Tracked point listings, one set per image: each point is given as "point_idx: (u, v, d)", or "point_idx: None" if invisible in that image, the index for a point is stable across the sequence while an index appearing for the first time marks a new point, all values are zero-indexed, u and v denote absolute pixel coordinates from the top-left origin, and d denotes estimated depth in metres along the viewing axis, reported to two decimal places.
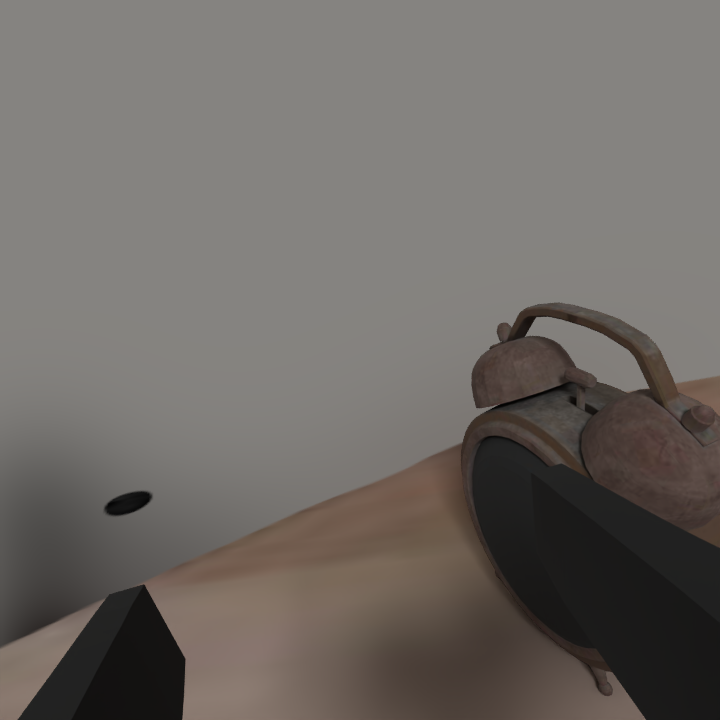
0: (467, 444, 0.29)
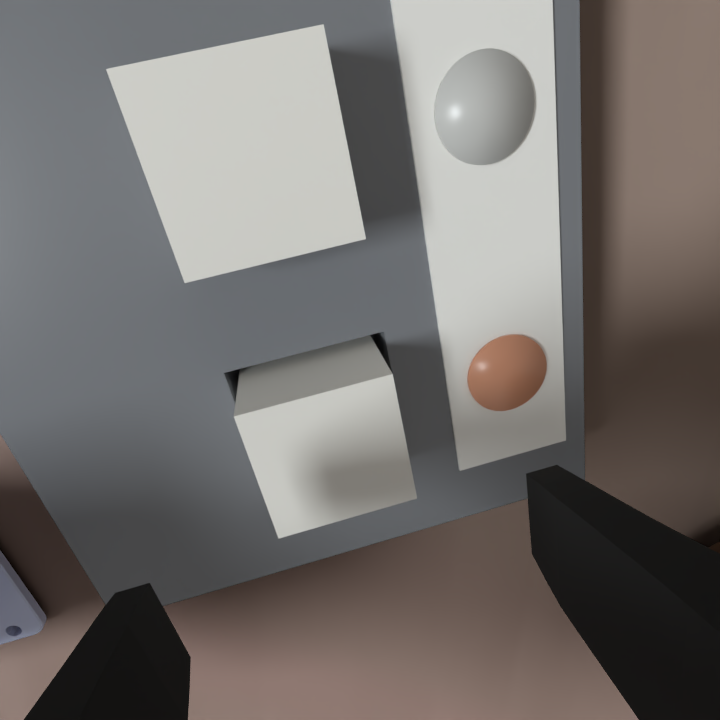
0: None
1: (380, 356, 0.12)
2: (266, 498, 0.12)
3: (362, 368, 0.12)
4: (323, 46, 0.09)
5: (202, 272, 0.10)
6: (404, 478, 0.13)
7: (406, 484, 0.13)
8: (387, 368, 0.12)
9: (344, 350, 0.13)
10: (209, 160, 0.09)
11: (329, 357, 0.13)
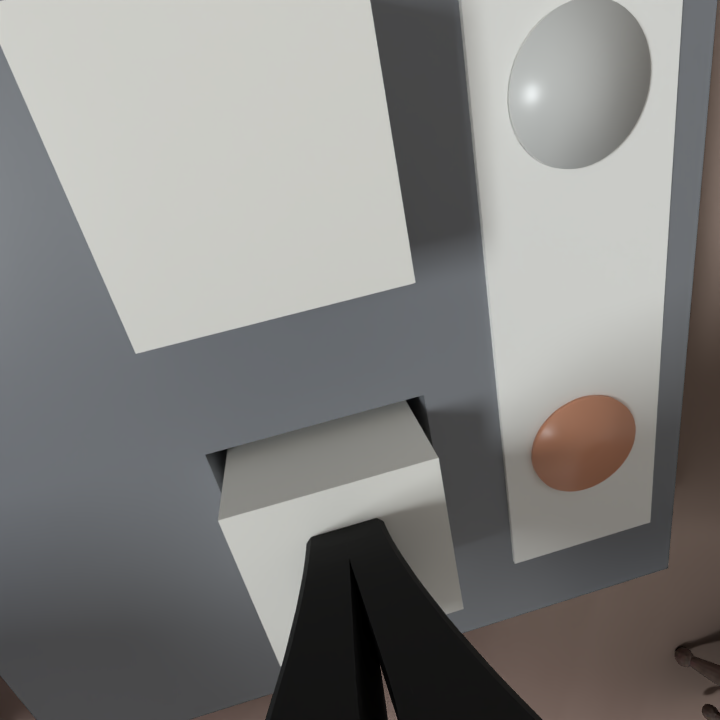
0: None
1: (416, 424, 0.09)
2: (264, 619, 0.09)
3: (394, 444, 0.09)
4: None
5: (163, 337, 0.06)
6: (448, 586, 0.09)
7: (450, 593, 0.10)
8: (429, 446, 0.09)
9: (366, 411, 0.10)
10: (170, 162, 0.05)
11: (347, 422, 0.10)
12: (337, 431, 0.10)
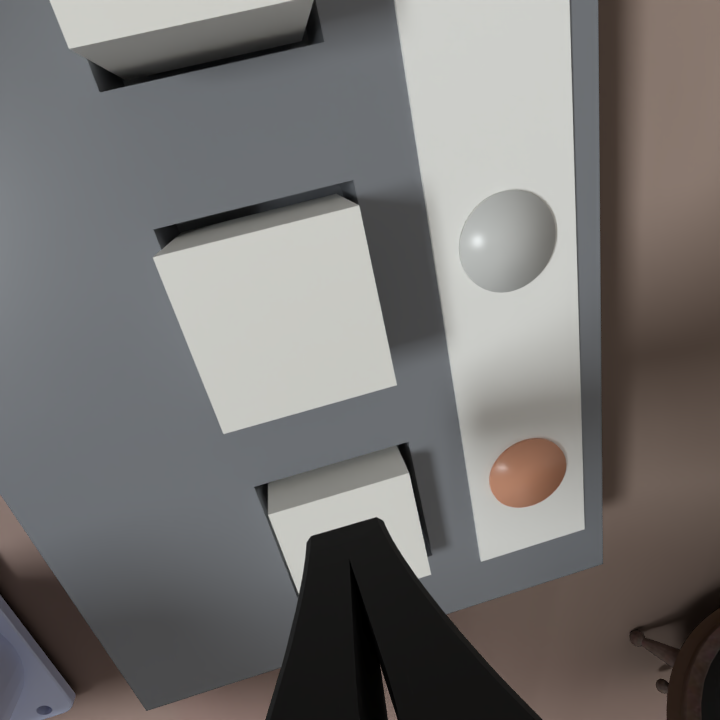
0: None
1: (396, 449, 0.14)
2: (296, 580, 0.13)
3: (381, 463, 0.13)
4: (358, 223, 0.09)
5: (240, 423, 0.10)
6: (419, 558, 0.14)
7: (421, 563, 0.14)
8: (404, 465, 0.13)
9: None
10: (249, 327, 0.09)
11: None
12: None
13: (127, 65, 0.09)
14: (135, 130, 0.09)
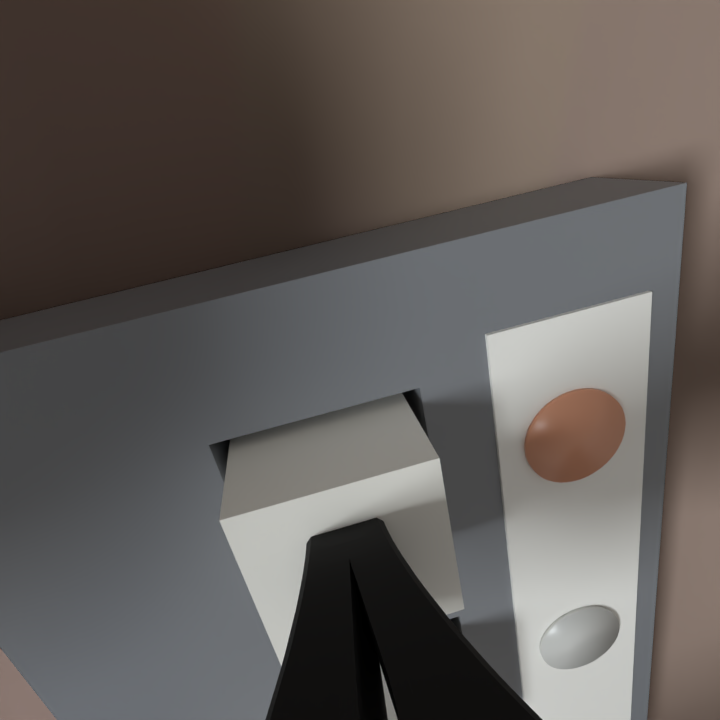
0: None
1: None
2: None
3: None
4: None
5: None
6: None
7: None
8: None
9: None
10: None
11: None
12: None
13: None
14: None
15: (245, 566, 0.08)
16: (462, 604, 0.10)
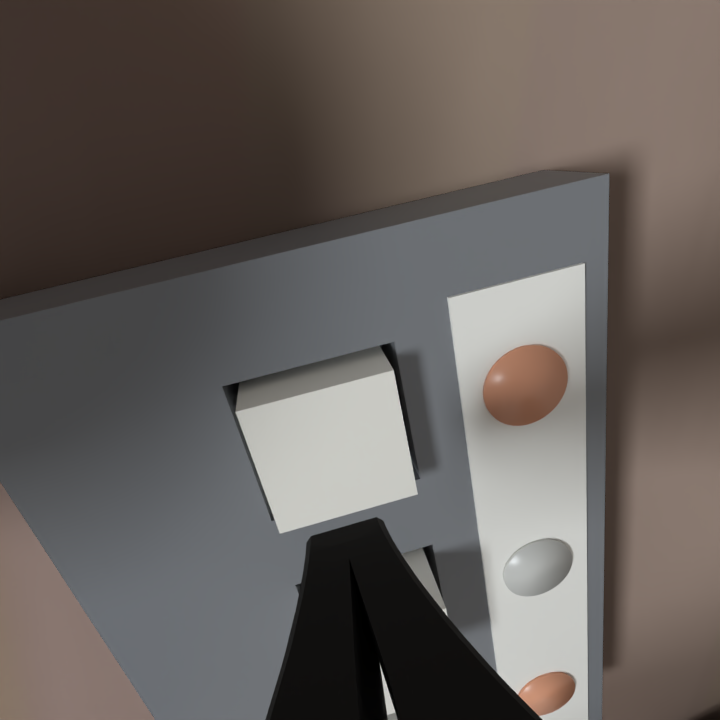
0: None
1: None
2: None
3: None
4: None
5: None
6: None
7: None
8: None
9: None
10: None
11: None
12: None
13: None
14: (291, 536, 0.14)
15: (253, 449, 0.12)
16: (416, 491, 0.13)
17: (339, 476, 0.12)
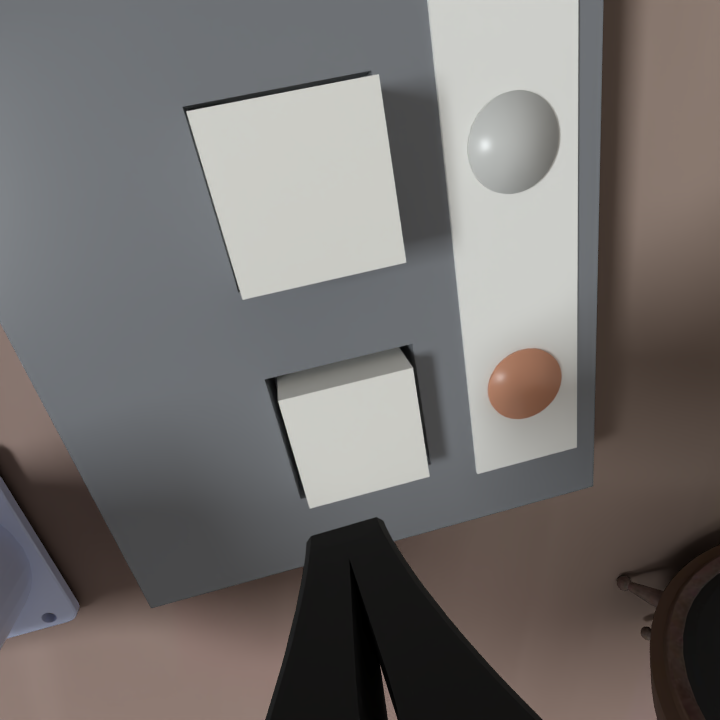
0: None
1: (401, 353, 0.14)
2: (301, 472, 0.14)
3: (386, 362, 0.14)
4: (377, 93, 0.10)
5: (258, 290, 0.11)
6: (419, 458, 0.15)
7: (420, 464, 0.15)
8: (408, 363, 0.14)
9: None
10: (272, 191, 0.10)
11: None
12: None
13: None
14: (170, 5, 0.10)
15: None
16: None
17: None
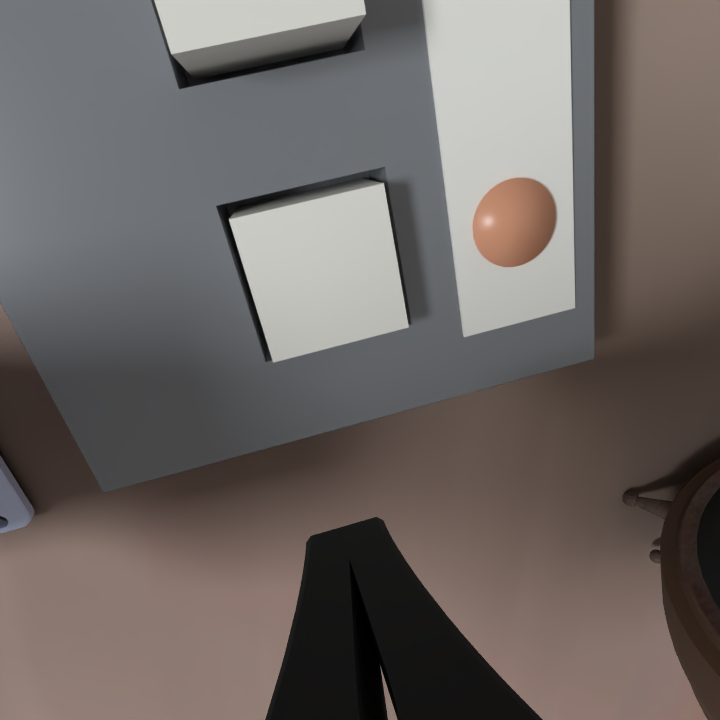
0: None
1: (372, 181, 0.13)
2: (261, 315, 0.12)
3: (354, 187, 0.12)
4: None
5: (190, 42, 0.09)
6: (396, 303, 0.13)
7: (398, 310, 0.13)
8: (379, 182, 0.12)
9: (337, 186, 0.13)
10: None
11: (323, 190, 0.13)
12: (315, 193, 0.13)
13: None
14: None
15: None
16: None
17: None
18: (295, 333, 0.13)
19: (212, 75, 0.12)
